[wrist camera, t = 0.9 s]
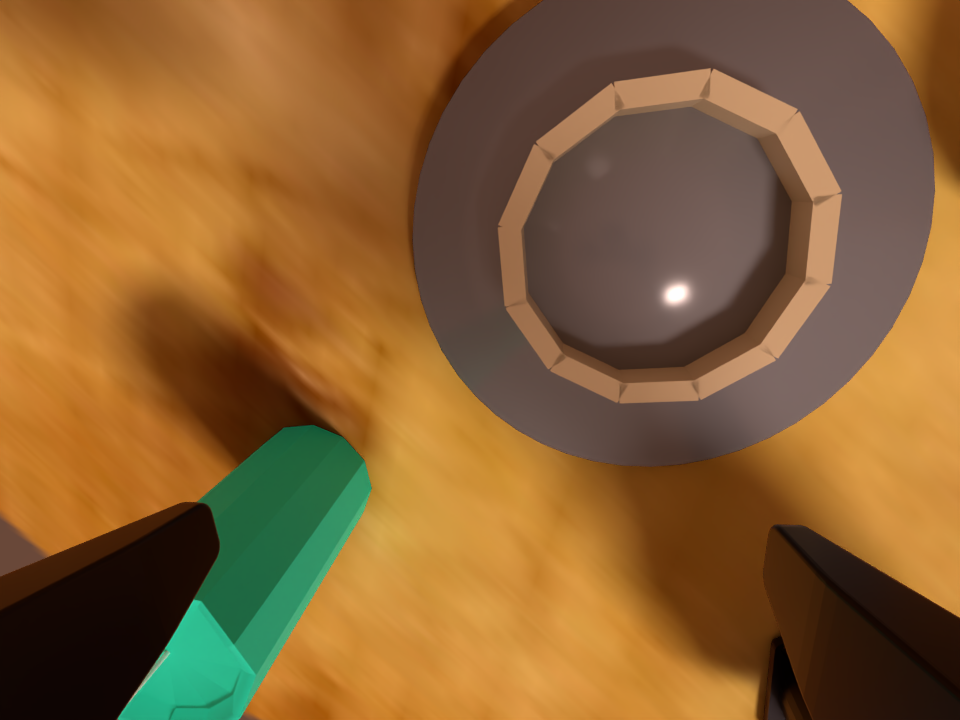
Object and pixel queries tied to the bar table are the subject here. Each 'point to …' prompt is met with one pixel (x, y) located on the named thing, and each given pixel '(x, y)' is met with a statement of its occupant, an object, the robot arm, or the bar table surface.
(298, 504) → the candle
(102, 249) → the bar table surface
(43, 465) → the bar table surface
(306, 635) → the bar table surface
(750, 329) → the candle holder
